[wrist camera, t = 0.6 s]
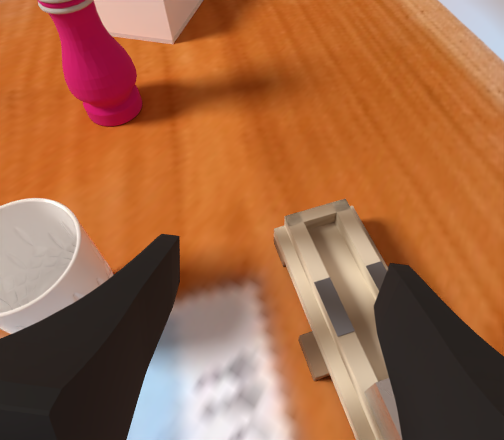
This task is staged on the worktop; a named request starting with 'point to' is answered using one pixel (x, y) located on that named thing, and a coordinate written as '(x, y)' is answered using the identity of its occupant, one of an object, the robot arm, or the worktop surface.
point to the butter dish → (146, 18)
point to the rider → (384, 409)
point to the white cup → (44, 262)
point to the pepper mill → (94, 63)
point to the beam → (338, 303)
